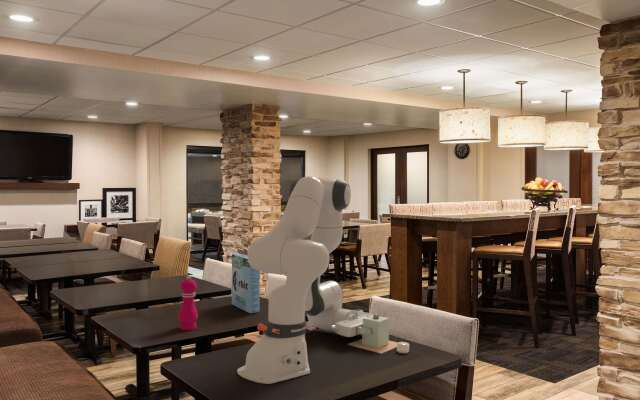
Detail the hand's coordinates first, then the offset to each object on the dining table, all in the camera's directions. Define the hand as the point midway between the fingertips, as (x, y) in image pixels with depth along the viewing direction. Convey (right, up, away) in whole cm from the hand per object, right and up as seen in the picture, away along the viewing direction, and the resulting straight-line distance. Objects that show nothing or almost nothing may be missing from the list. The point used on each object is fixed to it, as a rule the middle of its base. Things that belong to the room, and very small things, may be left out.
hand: (377, 329), depth 188 cm
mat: (-1, -6, +1) cm, 6 cm away
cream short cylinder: (+8, -6, -6) cm, 12 cm away
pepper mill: (-70, -4, +16) cm, 72 cm away
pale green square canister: (-1, -5, +1) cm, 5 cm away
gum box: (-53, -3, +49) cm, 72 cm away
